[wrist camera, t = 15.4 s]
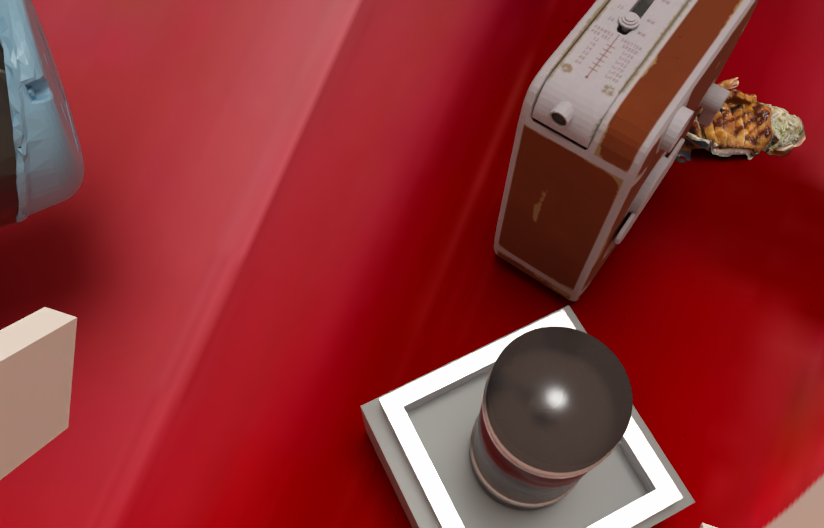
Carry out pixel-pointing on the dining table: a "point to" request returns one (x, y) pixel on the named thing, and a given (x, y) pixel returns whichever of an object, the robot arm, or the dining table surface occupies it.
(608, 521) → the square picture frame
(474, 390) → the square shallow tray
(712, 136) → the pastry
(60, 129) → the robot arm
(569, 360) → the lens
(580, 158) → the cine camera
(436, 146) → the dining table surface
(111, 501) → the dining table surface
